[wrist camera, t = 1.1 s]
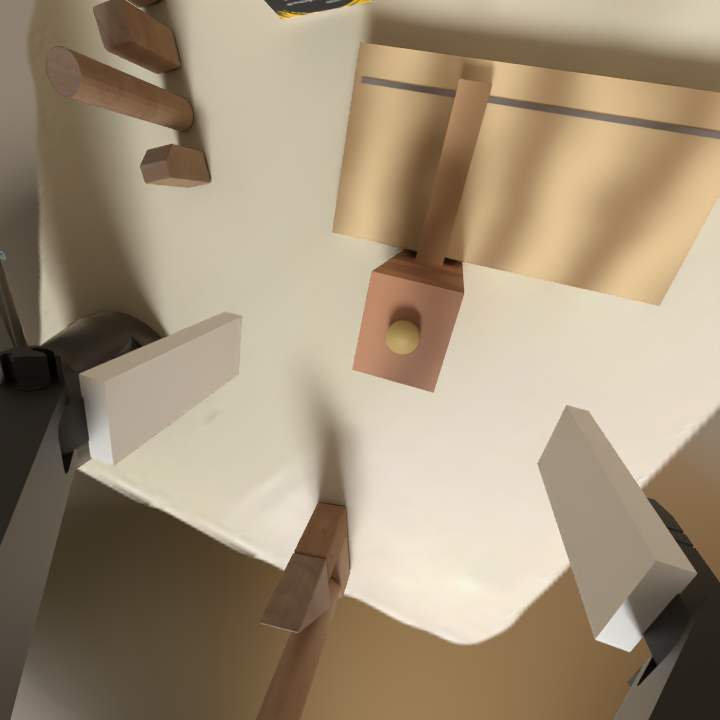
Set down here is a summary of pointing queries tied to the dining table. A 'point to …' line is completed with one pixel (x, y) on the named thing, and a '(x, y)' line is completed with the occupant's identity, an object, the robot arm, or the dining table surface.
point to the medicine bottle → (308, 6)
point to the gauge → (424, 268)
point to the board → (535, 169)
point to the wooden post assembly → (306, 609)
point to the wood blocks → (134, 86)
